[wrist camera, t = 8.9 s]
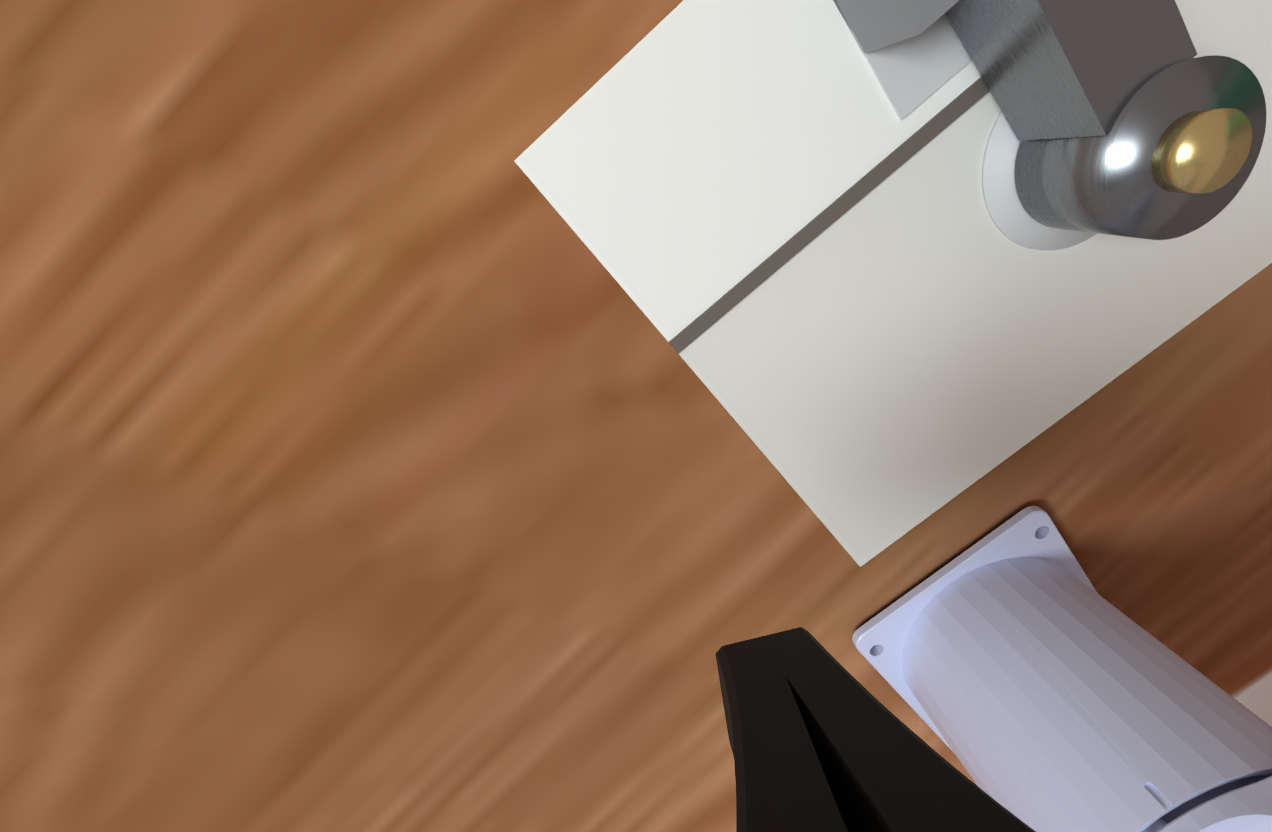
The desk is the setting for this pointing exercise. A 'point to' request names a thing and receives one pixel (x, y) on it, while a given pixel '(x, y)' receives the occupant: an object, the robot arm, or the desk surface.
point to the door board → (873, 243)
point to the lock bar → (1115, 112)
